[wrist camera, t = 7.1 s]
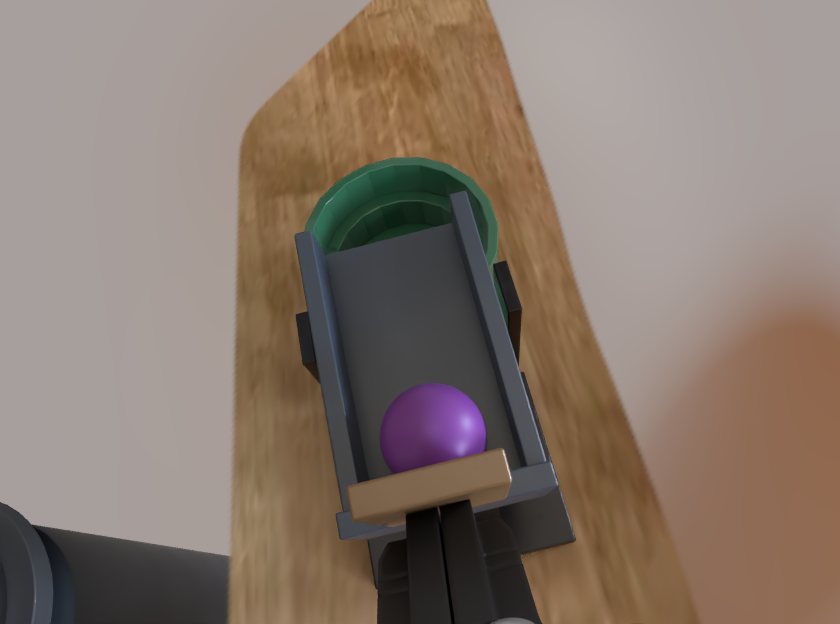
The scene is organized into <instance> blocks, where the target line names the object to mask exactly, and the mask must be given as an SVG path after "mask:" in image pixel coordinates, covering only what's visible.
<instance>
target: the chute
mask: <svg viewBox="0 0 840 624" xmlns="http://www.w3.org/2000/svg"><path fill="white" fill-rule="evenodd" d="M449 200H450V208H451V216H452V223H449V224H445V225H441V226H438V227H434V228H430V229H426V230H422V231H418V232H414V233H410V234H406V235H403V236H399V237H395V238H391V239H387V240H383V241H379V242H375V243H371V244H368V245H364V246H360V247H356V248H352V249H348V250H344V251H340V252H336V253H333V254H329V255H325V254H324V252H323V250H322V249H321V247H320V245H319V244H318V242H317V240H316V238H315V237H314V235H313V233H312V232H311V231H306V232H302V233H298V234H295V242H296V247H297V253H298V259H299V264H300V270H301V276H302V282H303V287H304V293H305V299H306V304H307V310H308V316H309V321H310V327H311V333H312V338H313V344H314V350H315V355H316V361H317V367H318V373H319V378H320V384H321V390H322V395H323V401H324V407H325V412H326V418H327V424H328V429H329V435H330V441H331V446H332V452H333V458H334V464H335V469H336V475H337V481H338V486H339V492H340V498H341V503H342V509H343V512H340V513H337V514H336V520H337V526H338V531H339V537H340V539H341V540H367V539H371V538H375V537H379V536H384V535H388V534H392V533H396V532H400V531H404V530H406V515H408V514H412V513H416V512H421V511H425V510H429V509H433V508H438V511H439V515H440V510H439V507H441V506H445V505H449V504H453V503H457V502H461V501H465V500H469V499H470V501H471V505H472V508H473V512H474V513H477V512H481V511H485V510H489V509H493V508H497V507H501V506H505V505H509V504H513V503H517V502H521V501H525V500H529V499H533V498H537V497H541V496H545V495H547V494H548V493H549V492H551V491H552V490H553V489H554V488H555V487H557V486H558V483H557V480H556V477H555V473H554V470H553V467H552V463H551V461H546V458H545V455H544V451H543V448H542V444H541V441H540V438H539V434H538V431H537V428H536V424H535V421H534V418H533V414H532V411H531V408H530V404H529V401H528V397H527V394H526V391H525V387H524V384H523V381H522V377H521V374H520V371H519V367H518V364H517V360H516V357H515V354H514V350H513V347H512V344H511V340H510V337H509V334H508V330H507V327H506V324H505V320H504V317H503V313H502V310H501V307H500V303H499V300H498V297H497V293H496V290H495V287H494V283H493V280H492V277H491V273H490V270H489V266H488V263H487V260H486V256H485V253H484V250H483V246H482V243H481V240H480V236H479V233H478V230H477V226H476V223H475V219H474V216H473V213H472V209H471V206H470V203H469V199H468V196H467V193H466V191H461V192H457V193H453V194H450V195H449ZM426 383H440V384H445V385H449V386H452V387H454V388H456V389H458V390H460V391H462V392H463V393H465V394H466V395H467V396H468V397H469V398H470V399H471V400H472V401H473V402H474V403H475V404H476V406H477V407H478V409H479V410H480V412H481V414H482V417H483V419H484V422H485V426H486V432H487V444H486V450H485V452H481V453H477V454H473V455H469V456H465V457H461V458H457V459H453V460H449V461H445V462H441V463H437V464H433V465H429V466H425V467H421V468H417V469H413V470H409V471H405V472H401V473H397V474H393V473H392V472H391V470H390V469H389V467H388V466H387V464H386V462H385V460H384V458H383V454H382V451H381V446H380V429H381V424H382V420H383V418H384V415H385V413H386V411H387V409H388V408H389V406H390V405H391V403H392V402H393V401H394V400H395V399H396V398H397V397H398V396H399V395H400V394H402V393H403V392H405V391H406V390H408V389H410V388H412V387H415V386H417V385H421V384H426Z"/></svg>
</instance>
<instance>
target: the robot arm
mask: <svg viewBox="0 0 840 624" xmlns="http://www.w3.org/2000/svg"><path fill="white" fill-rule="evenodd" d="M439 510H440V515H439V511H438V508H433V509H429V510H425V511H421V512H416V513H412V514H408V515H406V536H407V538H406V539H402V540H397V541H393V542H389V543H387V545H386V547H385V549H384V551H383V553H382V555H381V557H380V558H379V560H378V608H377V624H542V623H541V621H540V618H539V616H538V613H537V609H536V606H535V603H534V600H533V596H532V593H531V590H530V586H529V583H528V580H527V577H526V573H525V570H524V567H523V564H522V560H521V557H520V554H519V550H518V547H517V544H516V541H515V537H514V534H513V531H512V529H511V528H510V527H509V526H508V525H507V524H506V523H505V522H504V521H503V520H502V519H501V518H500V517H498V516H497V517H493V518H489V519H485V520H481V521H476V520H475V516H474V512H473V508H472V505H471V501H470V499H469V500H465V501H461V502H457V503H453V504H449V505H445V506H441V507H439ZM6 610H7V586H6V579H5V574H4V570H3V567H2V564H1V561H0V624H4V623H5V618H6Z"/></svg>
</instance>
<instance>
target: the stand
mask: <svg viewBox="0 0 840 624" xmlns="http://www.w3.org/2000/svg"><path fill="white" fill-rule="evenodd" d="M493 277H494V287H495V290H496V293H497V297H498V300H499V303H500V307H501V310H502V313H503V317H504V320H505V324H506V327H507V330H508V334H509V337H510V340H511V344H512V347H513V350H514V354H515V357H516V360H517V364H518V367H519V352H520V333H521V314H522V307H521V304H520V301H519V298H518V295H517V292H516V289H515V286H514V283H513V280H512V277H511V274H510V270H509V267H508V264H507V262H506V261H502V262H498V263H494V264H493ZM296 322H297V328H298V335H299V342H300V349H301V356H302V363H303V365H304V366H305V367H306V368H307V370H308V371H309V372H310V373H311V374H312V375H313V377H314V378H315V379H316V380H317V381H318V382H319V384H320V378H319V373H318V367H317V361H316V355H315V350H314V344H313V338H312V333H311V327H310V321H309V316H308V312H303V313H299V314H296ZM520 374H521V377H522V381H523V384H524V387H525V391H526V394H527V397H528V401H529V404H530V408H531V411H532V414H533V418H534V421H535V424H536V428H537V431H538V434H539V438H540V441H541V444H542V448H543V451H544V455H545V458H546V461H551V458H550V454H549V451H548V448H547V445H546V442H545V438H544V435H543V432H542V429H541V425H540V422H539V419H538V416H537V413H536V409H535V406H534V403H533V400H532V397H531V393H530V390H529V387H528V384H527V380H526V377H525V374H524V372H521V373H520ZM320 385H321V384H320ZM551 463H552V461H551ZM552 467H553V464H552ZM553 470H554V467H553ZM554 473H555V470H554ZM555 477H556V474H555ZM556 480H557V477H556ZM557 483H558V480H557ZM474 516H475V520H476V521H481V520H485V519H489V518H493V517H497V516H498V517H500V518H501V519H502V520H503V521H504V522H505V523H506V524H507V525H508V526H509V527H510V528H511V529H512V531H513V534H514V537H515V541H516V544H517V547H518V550H519V554H520V555H524V554H528V553H532V552H536V551H540V550H544V549H548V548H552V547H556V546H560V545H565V544H569V543H573V542H574V541H576V538H575V535H574V531H573V528H572V525H571V522H570V519H569V515H568V512H567V509H566V506H565V503H564V499H563V496H562V493H561V490H560V486H559V483H558V486H557V487H555V488H554V489H553V490H552V491H551V492H549V493H548V494H547V495H545V496H541V497H537V498H533V499H529V500H525V501H521V502H517V503H513V504H509V505H505V506H501V507H497V508H493V509H489V510H485V511H481V512H477V513H474ZM406 538H407V536H406V530H404V531H400V532H396V533H392V534H388V535H384V536H379V537H375V538H371V539H367V541H368V547H369V552H370V558H371V564H372V570H373V576H374V582H375V587H376V589H377V590H378V560H379V558H380V557H381V555H382V553H383V551H384V549H385V547H386V545H387V543H389V542H393V541H397V540H402V539H406Z"/></svg>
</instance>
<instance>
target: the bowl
mask: <svg viewBox="0 0 840 624" xmlns="http://www.w3.org/2000/svg"><path fill="white" fill-rule="evenodd" d="M461 191H466V193H467V196H468V199H469V203H470V206H471V209H472V213H473V216H474V219H475V223H476V226H477V230H478V233H479V236H480V240H481V243H482V246H483V250H484V253H485V256H486V260H487V263H488V266H489V270H490V273H491V277H492V280H493V283H494V277H493V264H494V263H498V262H499V236H498V222H497V219H496V216H495V213H494V211H493V208H492V205H491V202H490V200H489V198H488V197H487V196H486V194H485V193H484V192H483V191H482V190H481V188H480V187H479V186H478V185H477V184H476V182H475V181H474V180H473V179H472V178H470V177H469V176H467V175H465V174H464V173H462V172H461V171H459V170H457V169H456V168H454V167H452V166H451V165H448V164H445V163H442V162H438V161H434V160H430V159H426V158H421V157H412V158H393V159H392V158H390V159H386V160H383V161H379V162H375V163H372V164H368V165H365V166H363V167H361V168H359V169H357V170H356V171H354V172H352V173H350V174H349V175H347V176H345V177H343V178H342V179H340V180H339V181H338V182H337V183H335V184H334V185H333V186H332V187H331V188H330V189H329V190H328V191H327V192H326V193H325V194H324V195H323V196H322V197H321V198H320V200H319V201H318V203H317V205H316V207H315V208H314V210H313V212H312V214H311V216H310V217H309V219H308V221H307V223H306V226H305V232H306V231H311V232H312V233H313V235H314V237H315V238H316V240H317V242H318V244H319V245H320V247H321V249H322V250H323V252H324V254H325V255H329V254H333V253H336V252H340V251H344V250H348V249H352V248H356V247H360V246H364V245H368V244H371V243H375V242H379V241H383V240H387V239H391V238H395V237H399V236H403V235H406V234H410V233H414V232H418V231H422V230H426V229H430V228H434V227H438V226H441V225H445V224H449V223H452V216H451V208H450V200H449V195H450V194H453V193H457V192H461Z"/></svg>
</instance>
